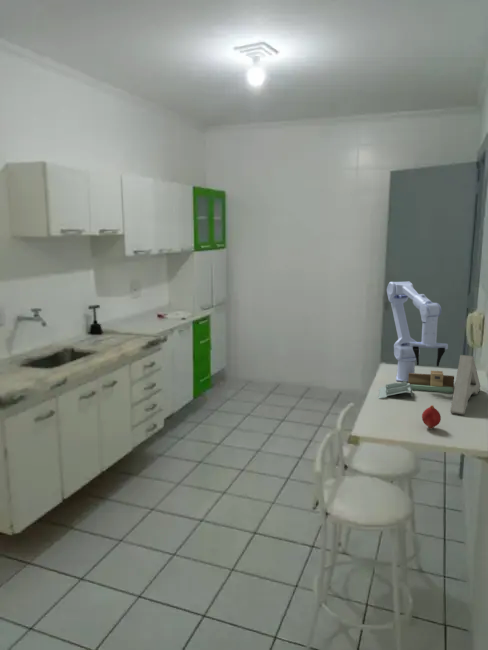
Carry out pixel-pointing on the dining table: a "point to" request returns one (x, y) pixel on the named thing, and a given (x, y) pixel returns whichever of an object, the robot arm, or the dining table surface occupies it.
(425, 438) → the dining table surface
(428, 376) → the wall board
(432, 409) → the onion
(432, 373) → the cabinet block
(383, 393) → the metal bracket
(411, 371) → the robot arm
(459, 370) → the white letter a
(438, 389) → the cleat ledge
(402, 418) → the dining table surface
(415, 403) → the dining table surface
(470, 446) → the dining table surface
